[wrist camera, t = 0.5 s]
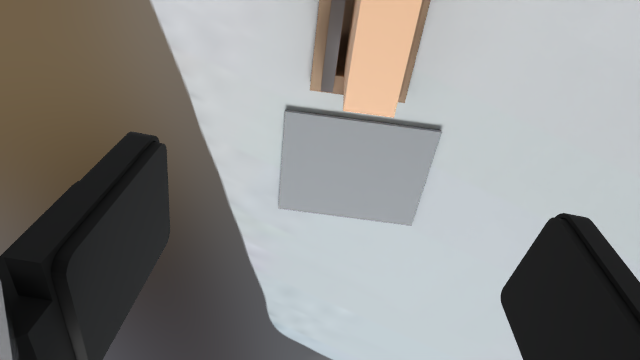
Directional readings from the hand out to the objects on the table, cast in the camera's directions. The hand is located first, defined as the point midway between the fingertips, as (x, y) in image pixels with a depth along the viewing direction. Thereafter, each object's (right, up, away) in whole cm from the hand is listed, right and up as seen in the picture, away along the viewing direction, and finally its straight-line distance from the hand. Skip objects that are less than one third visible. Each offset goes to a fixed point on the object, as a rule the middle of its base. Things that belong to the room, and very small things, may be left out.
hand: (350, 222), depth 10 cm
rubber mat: (+2, +2, +29) cm, 29 cm away
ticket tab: (+3, +14, +19) cm, 24 cm away
